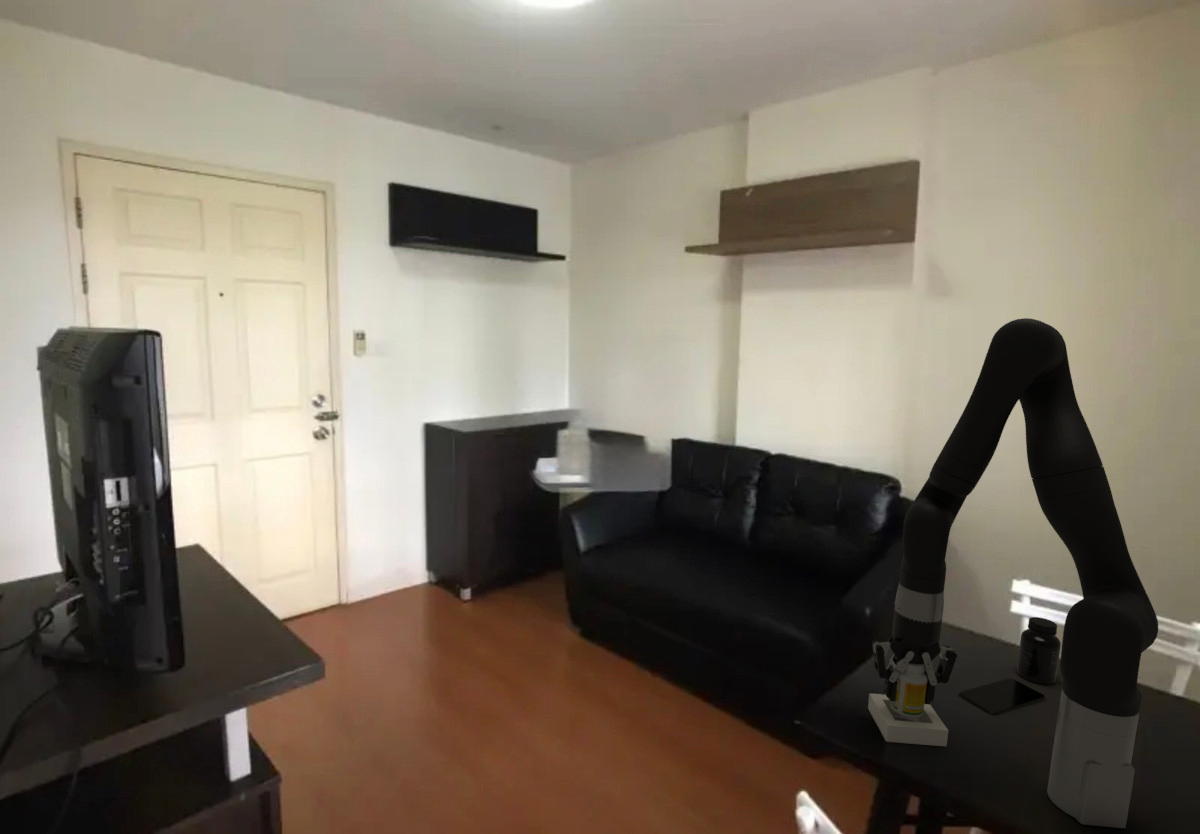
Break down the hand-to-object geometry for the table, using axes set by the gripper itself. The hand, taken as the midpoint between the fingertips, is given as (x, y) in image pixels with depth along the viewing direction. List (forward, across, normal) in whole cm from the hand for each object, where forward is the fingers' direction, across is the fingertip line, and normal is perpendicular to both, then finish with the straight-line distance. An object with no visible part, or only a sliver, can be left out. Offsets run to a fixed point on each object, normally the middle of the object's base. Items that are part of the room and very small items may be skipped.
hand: (908, 700), depth 118 cm
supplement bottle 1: (+2, 0, 0) cm, 2 cm away
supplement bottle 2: (+5, +34, +22) cm, 41 cm away
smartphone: (+6, +23, +13) cm, 27 cm away
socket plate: (+5, 0, 0) cm, 5 cm away
